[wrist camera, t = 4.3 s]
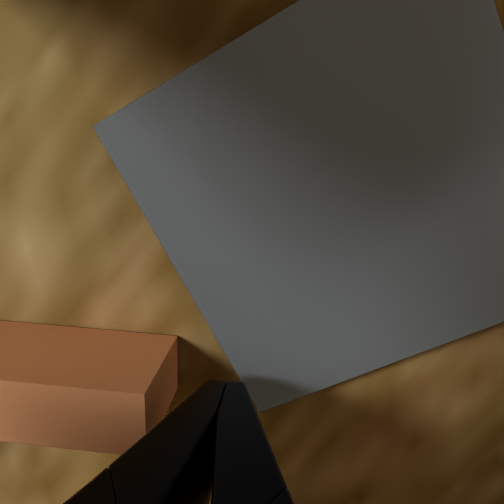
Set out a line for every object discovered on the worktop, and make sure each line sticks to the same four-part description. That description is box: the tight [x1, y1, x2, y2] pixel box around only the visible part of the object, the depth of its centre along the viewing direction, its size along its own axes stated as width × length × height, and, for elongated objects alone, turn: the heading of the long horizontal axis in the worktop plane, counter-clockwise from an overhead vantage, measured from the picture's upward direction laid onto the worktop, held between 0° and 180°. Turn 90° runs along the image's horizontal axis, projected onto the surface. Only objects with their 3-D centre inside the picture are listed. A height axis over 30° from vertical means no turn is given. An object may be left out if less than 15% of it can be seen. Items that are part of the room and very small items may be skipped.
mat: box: [93, 0, 504, 413], centre depth 8 cm, size 8×8×1 cm
